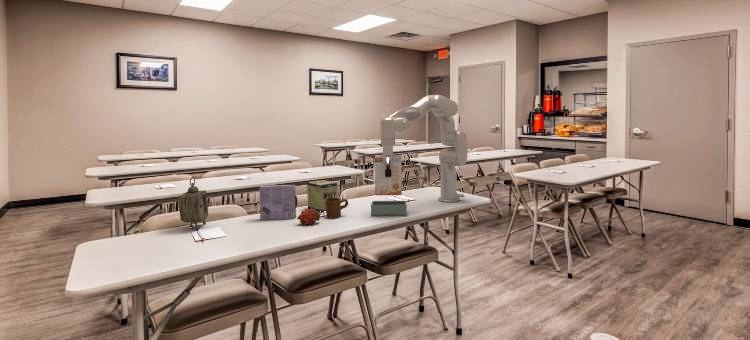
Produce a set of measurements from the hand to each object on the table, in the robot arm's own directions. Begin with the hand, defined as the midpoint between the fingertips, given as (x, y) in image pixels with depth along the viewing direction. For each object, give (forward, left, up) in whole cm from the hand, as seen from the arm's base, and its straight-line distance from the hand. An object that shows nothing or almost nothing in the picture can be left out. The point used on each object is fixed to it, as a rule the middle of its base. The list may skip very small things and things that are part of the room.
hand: (388, 175), depth 229 cm
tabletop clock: (+94, +26, -21) cm, 100 cm away
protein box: (+38, -12, -21) cm, 45 cm away
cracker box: (0, 0, -10) cm, 10 cm away
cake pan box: (+57, +9, -21) cm, 61 cm away
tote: (0, 0, -21) cm, 21 cm away
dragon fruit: (+39, +20, -21) cm, 49 cm away
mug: (+27, +5, -21) cm, 34 cm away
